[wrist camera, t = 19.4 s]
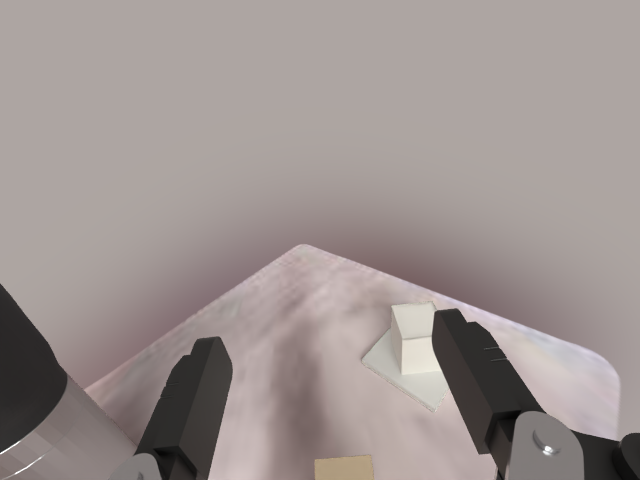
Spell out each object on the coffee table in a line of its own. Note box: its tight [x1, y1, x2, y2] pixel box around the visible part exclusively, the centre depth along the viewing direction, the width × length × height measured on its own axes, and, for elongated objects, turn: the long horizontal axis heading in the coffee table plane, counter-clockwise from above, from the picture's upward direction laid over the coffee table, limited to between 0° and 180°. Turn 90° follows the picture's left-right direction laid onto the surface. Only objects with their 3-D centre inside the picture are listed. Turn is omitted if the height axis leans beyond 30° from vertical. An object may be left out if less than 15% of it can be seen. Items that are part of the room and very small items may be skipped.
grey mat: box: [362, 327, 449, 413], centre depth 46 cm, size 12×12×1 cm
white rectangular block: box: [391, 301, 442, 375], centre depth 43 cm, size 6×6×8 cm
